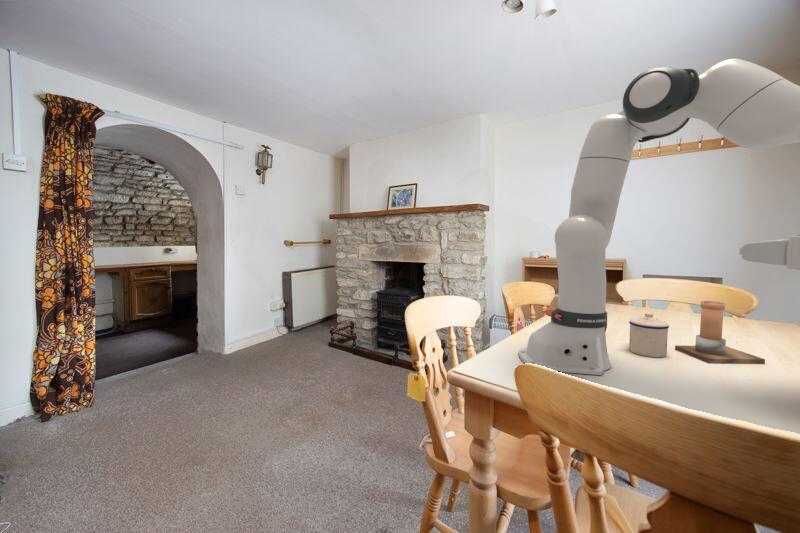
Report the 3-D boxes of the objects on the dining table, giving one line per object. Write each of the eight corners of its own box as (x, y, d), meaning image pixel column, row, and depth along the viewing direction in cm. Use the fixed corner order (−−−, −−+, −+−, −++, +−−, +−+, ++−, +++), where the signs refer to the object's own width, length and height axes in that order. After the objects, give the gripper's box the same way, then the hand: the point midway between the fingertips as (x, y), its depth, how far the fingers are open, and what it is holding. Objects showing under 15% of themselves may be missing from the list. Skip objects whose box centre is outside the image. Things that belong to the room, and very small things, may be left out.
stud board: (708, 363, 84) (709, 343, 84) (675, 349, 95) (675, 332, 94) (764, 363, 83) (766, 344, 83) (724, 349, 94) (725, 332, 94)
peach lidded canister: (709, 340, 86) (711, 304, 86) (694, 335, 91) (696, 301, 91) (727, 340, 86) (730, 304, 85) (711, 335, 91) (713, 300, 90)
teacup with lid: (676, 358, 88) (678, 316, 87) (641, 357, 88) (643, 316, 88) (646, 344, 99) (647, 308, 99) (615, 344, 100) (617, 307, 99)
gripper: (907, 234, 58) (813, 236, 72) (789, 236, 60) (719, 237, 73) (903, 268, 59) (811, 264, 73) (786, 269, 60) (717, 264, 74)
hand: (764, 250), depth 73 cm, fingers open, 8 cm apart
